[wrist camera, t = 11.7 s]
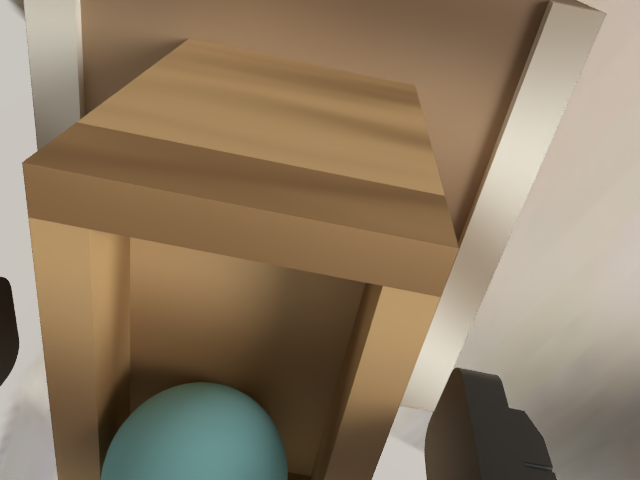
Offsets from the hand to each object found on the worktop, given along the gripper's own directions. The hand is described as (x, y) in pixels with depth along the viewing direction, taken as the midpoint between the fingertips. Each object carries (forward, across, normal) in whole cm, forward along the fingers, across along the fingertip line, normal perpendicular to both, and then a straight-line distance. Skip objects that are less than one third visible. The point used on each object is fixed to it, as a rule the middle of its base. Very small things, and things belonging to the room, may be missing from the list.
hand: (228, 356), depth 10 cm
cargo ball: (0, 0, 0) cm, 1 cm away
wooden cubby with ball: (+6, 0, 0) cm, 6 cm away
